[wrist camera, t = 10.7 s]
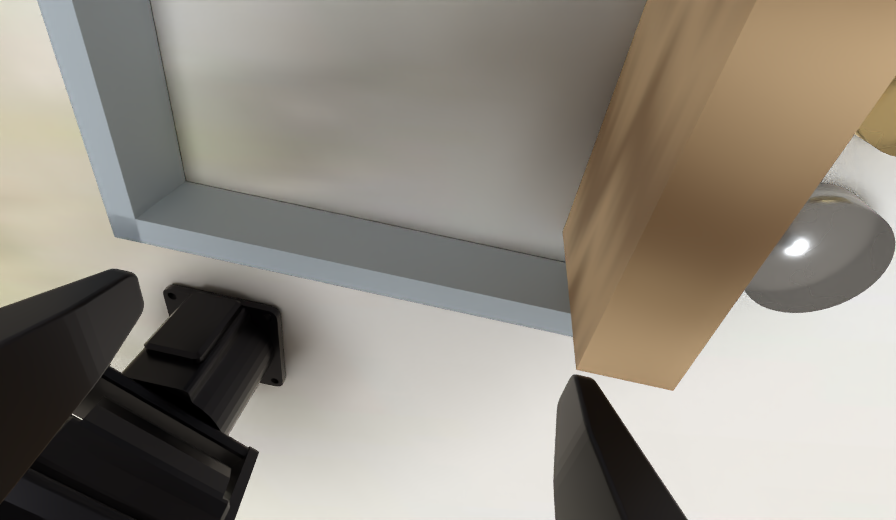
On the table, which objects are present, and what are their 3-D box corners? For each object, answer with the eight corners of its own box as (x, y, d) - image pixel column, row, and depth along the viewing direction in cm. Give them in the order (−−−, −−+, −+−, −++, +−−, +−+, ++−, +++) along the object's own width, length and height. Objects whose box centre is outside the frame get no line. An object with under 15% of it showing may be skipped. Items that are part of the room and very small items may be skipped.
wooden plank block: (629, 245, 21) (673, 390, 14) (562, 231, 21) (576, 369, 14) (769, -49, 14) (966, -24, 8) (671, -68, 14) (785, -59, 8)
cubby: (617, 295, 22) (629, 349, 19) (166, 198, 23) (114, 236, 20) (845, -164, 12) (935, -189, 10) (46, -315, 13) (-87, -379, 10)
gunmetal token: (813, 293, 21) (836, 324, 19) (702, 268, 21) (716, 297, 19) (894, 195, 18) (930, 222, 16) (765, 167, 18) (788, 192, 16)
